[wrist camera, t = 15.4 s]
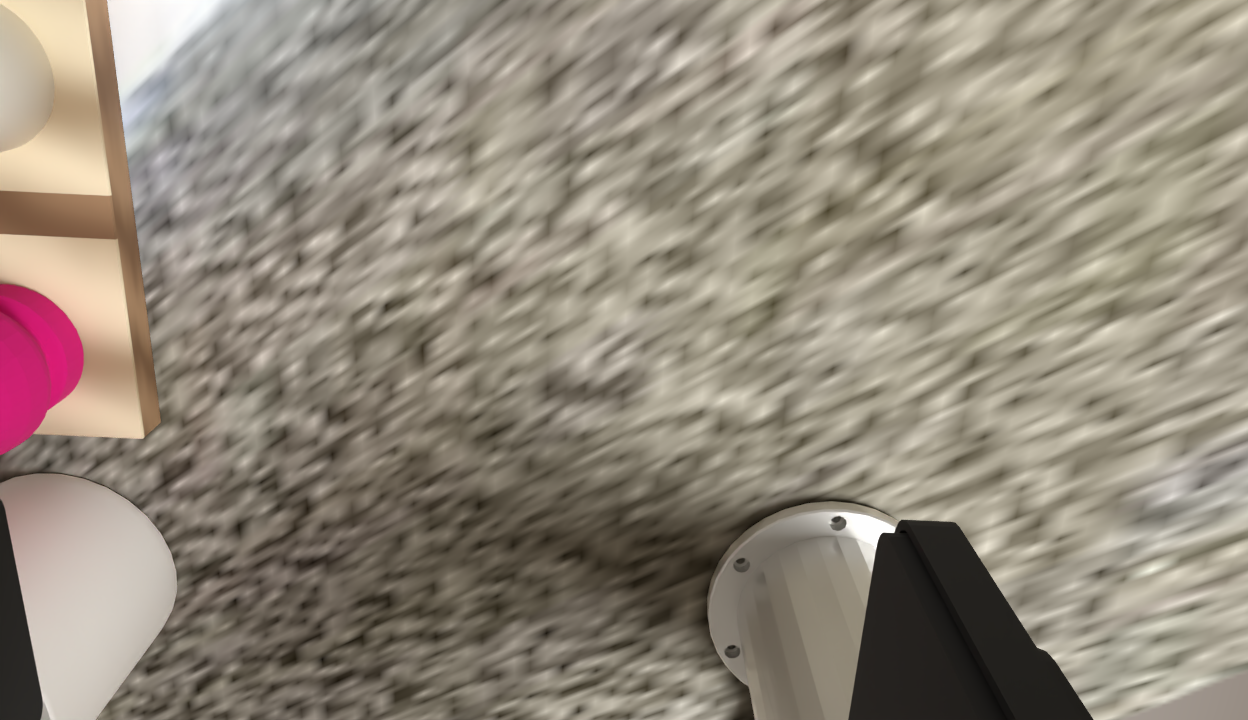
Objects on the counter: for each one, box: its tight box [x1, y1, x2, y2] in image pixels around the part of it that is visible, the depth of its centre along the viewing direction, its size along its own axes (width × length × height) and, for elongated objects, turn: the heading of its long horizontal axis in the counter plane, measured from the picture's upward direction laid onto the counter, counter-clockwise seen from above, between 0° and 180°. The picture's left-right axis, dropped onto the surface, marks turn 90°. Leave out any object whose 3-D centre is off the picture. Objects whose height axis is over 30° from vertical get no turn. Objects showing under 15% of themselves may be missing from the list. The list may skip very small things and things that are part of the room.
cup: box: [0, 473, 177, 720], centre depth 47 cm, size 12×12×12 cm
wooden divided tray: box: [0, 0, 161, 439], centre depth 44 cm, size 22×10×2 cm, turn 177°
